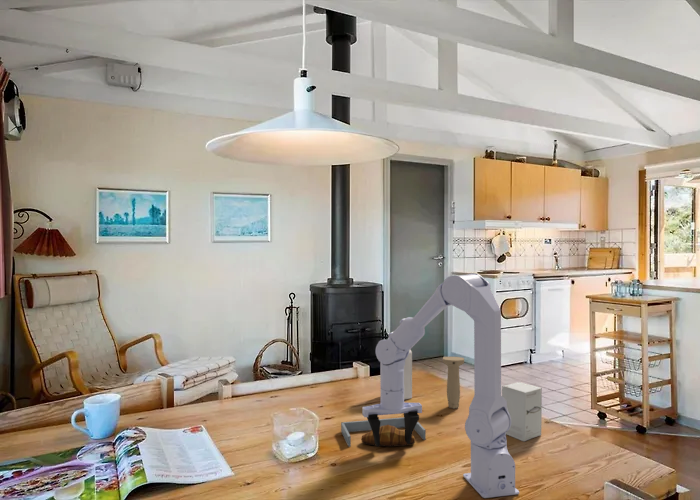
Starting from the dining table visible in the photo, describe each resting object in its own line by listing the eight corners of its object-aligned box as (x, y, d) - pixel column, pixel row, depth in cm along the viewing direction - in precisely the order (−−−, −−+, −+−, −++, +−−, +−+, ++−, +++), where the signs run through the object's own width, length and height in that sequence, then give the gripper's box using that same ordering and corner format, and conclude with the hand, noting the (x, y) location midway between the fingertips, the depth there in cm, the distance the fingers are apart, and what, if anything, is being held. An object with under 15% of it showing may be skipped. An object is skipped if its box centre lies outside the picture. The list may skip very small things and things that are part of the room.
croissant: (413, 439, 123) (413, 419, 123) (416, 450, 117) (416, 430, 117) (361, 438, 124) (361, 419, 124) (360, 449, 117) (360, 429, 117)
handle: (464, 410, 144) (464, 360, 144) (443, 409, 145) (442, 360, 145) (463, 405, 149) (463, 357, 148) (442, 404, 150) (442, 356, 149)
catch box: (425, 439, 123) (425, 429, 123) (348, 446, 119) (348, 436, 119) (413, 425, 132) (413, 416, 132) (341, 431, 128) (341, 422, 128)
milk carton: (382, 395, 158) (381, 338, 158) (399, 392, 161) (399, 336, 161) (393, 402, 152) (393, 342, 152) (412, 398, 155) (412, 340, 155)
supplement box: (524, 442, 121) (524, 392, 121) (500, 432, 127) (500, 385, 127) (542, 435, 125) (542, 387, 125) (518, 426, 131) (518, 380, 131)
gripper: (415, 381, 122) (415, 434, 122) (359, 385, 119) (359, 439, 119) (425, 389, 115) (425, 446, 115) (366, 393, 112) (366, 451, 112)
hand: (392, 443), depth 116 cm, fingers open, 7 cm apart
